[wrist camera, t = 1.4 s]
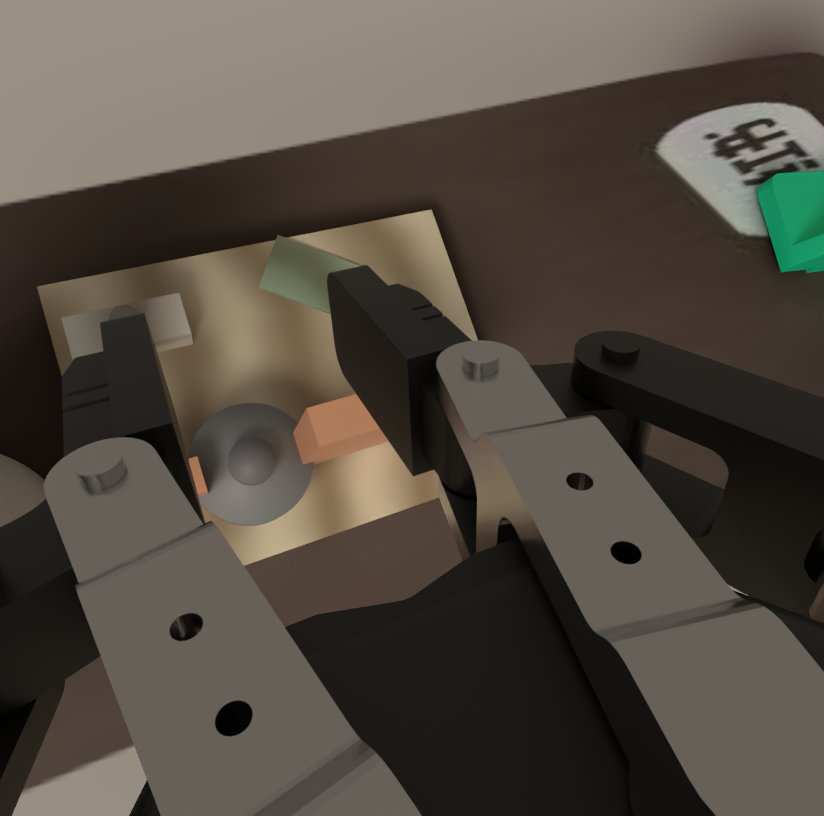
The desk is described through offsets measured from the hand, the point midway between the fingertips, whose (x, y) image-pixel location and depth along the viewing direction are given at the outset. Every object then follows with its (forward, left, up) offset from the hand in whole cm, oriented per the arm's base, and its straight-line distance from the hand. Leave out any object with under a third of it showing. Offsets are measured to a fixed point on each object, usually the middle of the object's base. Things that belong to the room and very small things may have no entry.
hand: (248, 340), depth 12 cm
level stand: (0, +7, -28) cm, 29 cm away
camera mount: (+32, +40, -28) cm, 59 cm away
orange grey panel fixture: (+3, +4, -26) cm, 26 cm away
